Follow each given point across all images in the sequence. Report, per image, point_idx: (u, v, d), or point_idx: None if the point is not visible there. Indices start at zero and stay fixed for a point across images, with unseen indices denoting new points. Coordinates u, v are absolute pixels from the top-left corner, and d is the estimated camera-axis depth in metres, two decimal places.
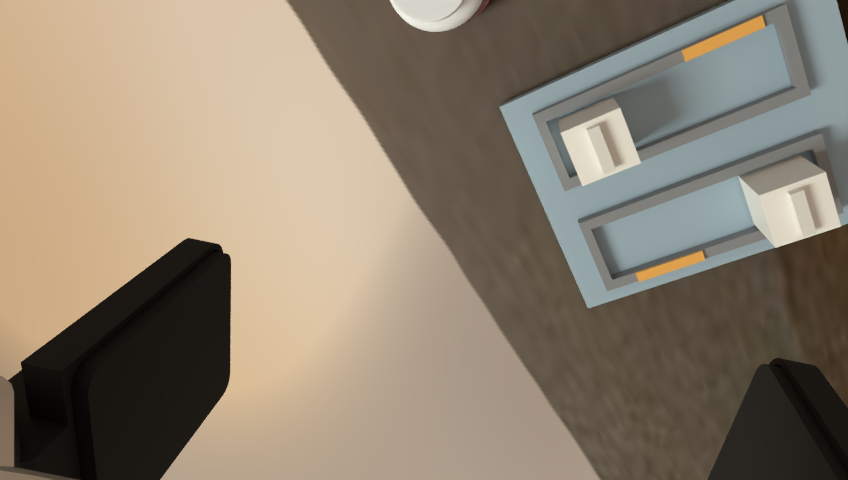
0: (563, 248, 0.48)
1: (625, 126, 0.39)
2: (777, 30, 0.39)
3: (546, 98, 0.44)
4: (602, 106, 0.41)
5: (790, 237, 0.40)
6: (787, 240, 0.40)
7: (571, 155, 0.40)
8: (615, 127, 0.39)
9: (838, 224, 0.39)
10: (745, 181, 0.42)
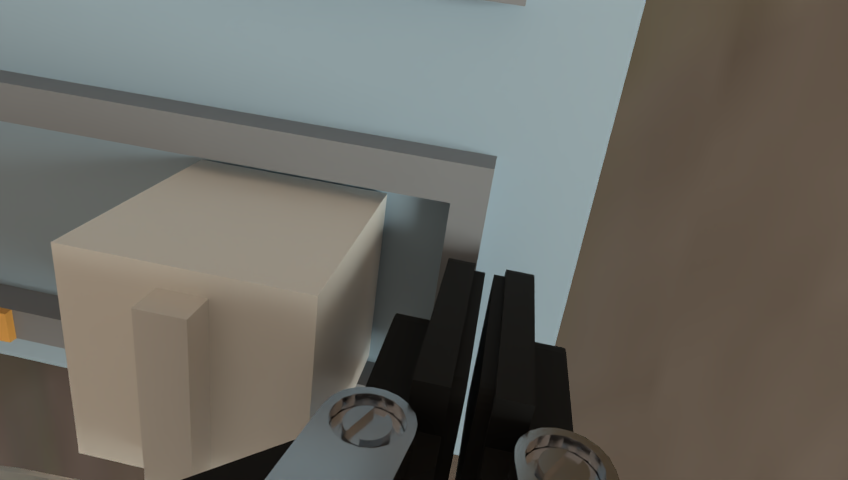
0: None
1: (76, 393, 0.10)
2: None
3: None
4: None
5: None
6: None
7: (302, 423, 0.09)
8: (111, 411, 0.10)
9: None
10: None
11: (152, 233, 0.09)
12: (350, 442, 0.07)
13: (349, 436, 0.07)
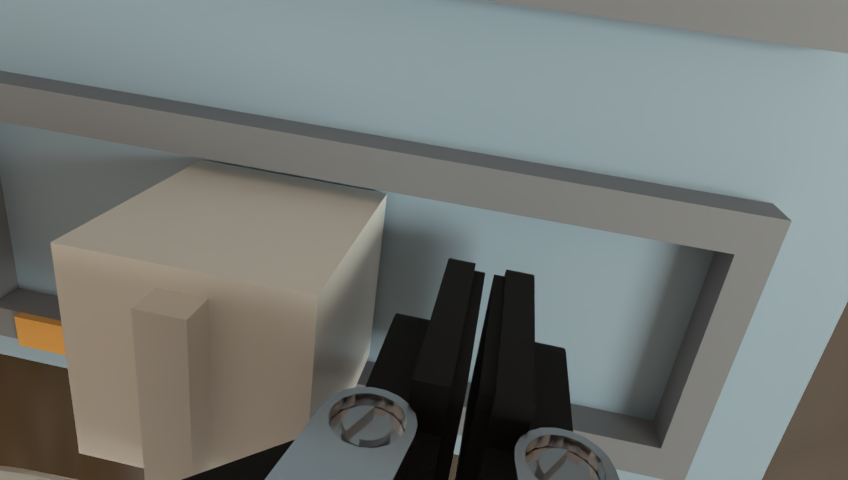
0: None
1: (77, 394, 0.10)
2: (2, 271, 0.15)
3: None
4: None
5: None
6: None
7: (302, 423, 0.09)
8: (111, 411, 0.10)
9: None
10: None
11: (152, 233, 0.09)
12: (350, 442, 0.07)
13: (349, 436, 0.07)
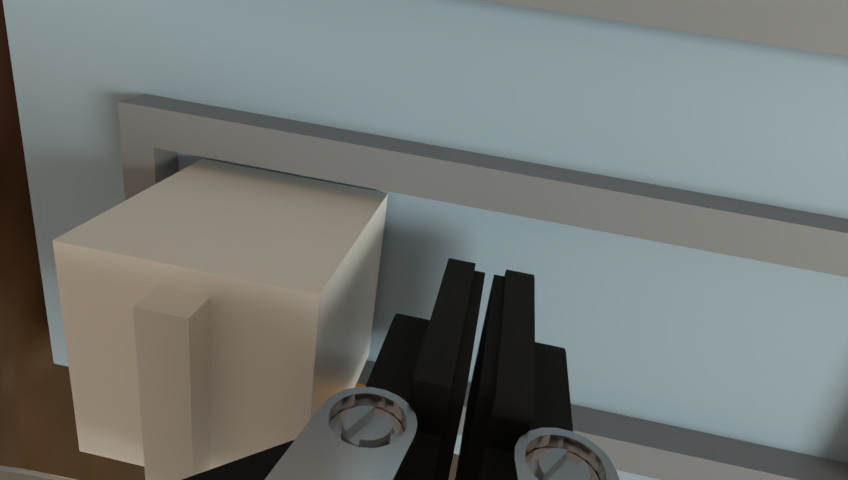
0: None
1: (77, 392, 0.10)
2: None
3: None
4: None
5: None
6: None
7: (303, 422, 0.09)
8: (112, 409, 0.10)
9: None
10: None
11: (154, 232, 0.09)
12: (350, 442, 0.07)
13: (349, 436, 0.07)
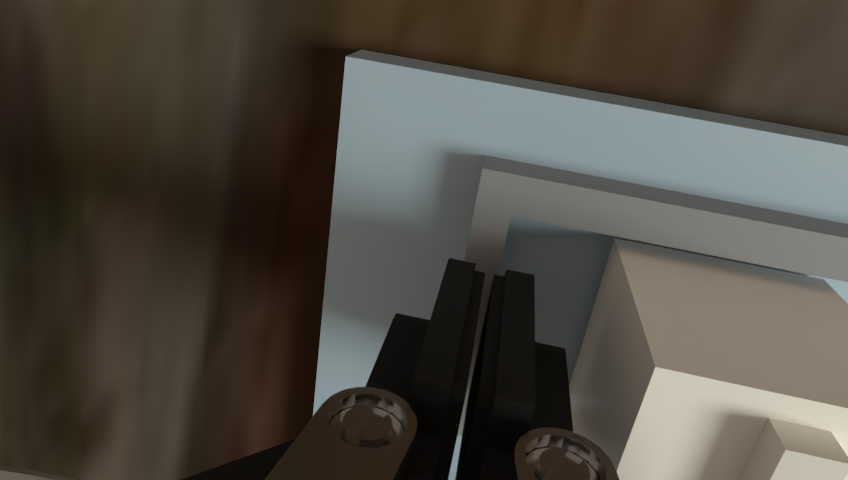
0: None
1: None
2: None
3: None
4: None
5: None
6: None
7: None
8: None
9: (659, 379, 0.08)
10: None
11: None
12: (350, 442, 0.07)
13: (349, 436, 0.07)
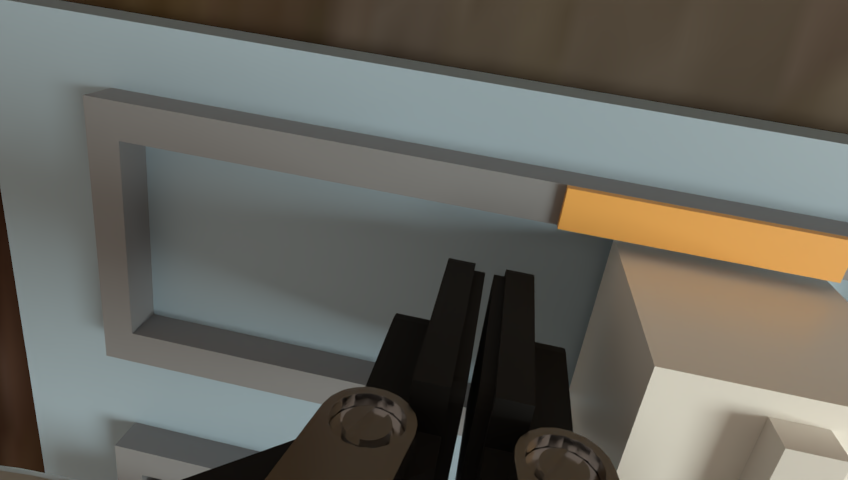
0: None
1: None
2: None
3: None
4: None
5: None
6: None
7: None
8: None
9: (658, 379, 0.08)
10: None
11: None
12: (350, 442, 0.07)
13: (349, 436, 0.07)
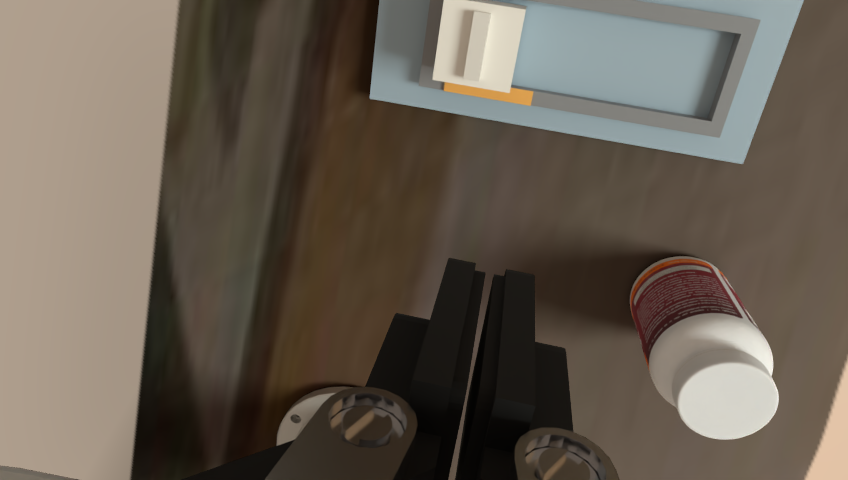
0: None
1: (438, 54, 0.31)
2: None
3: (688, 139, 0.35)
4: None
5: None
6: None
7: (514, 58, 0.30)
8: (448, 60, 0.31)
9: None
10: None
11: None
12: (349, 442, 0.07)
13: (348, 436, 0.07)
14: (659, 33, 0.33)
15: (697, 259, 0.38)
